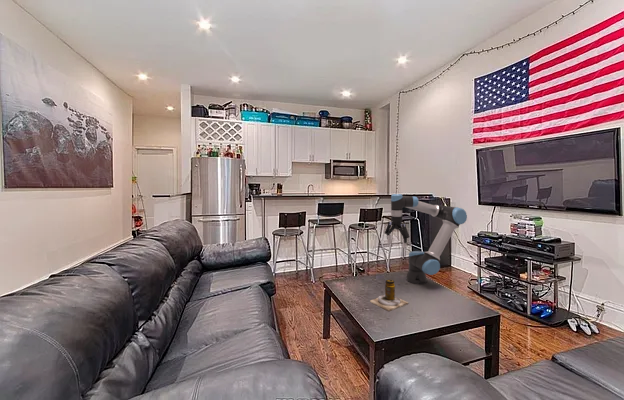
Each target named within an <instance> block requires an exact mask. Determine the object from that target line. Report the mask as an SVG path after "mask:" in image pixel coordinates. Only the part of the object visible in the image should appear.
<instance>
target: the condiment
mask: <svg viewBox="0 0 624 400" xmlns="http://www.w3.org/2000/svg"><path fill="white" fill-rule="evenodd" d="M395 287H396V286H395V281H394V280H393V279H386V280H385V284H384V289H385V290H384V293H385V294H384V295H385V297H382V298H381V299H383V300H385V301H387V302H391V301H394V300H397V298H395V296H396V294H395V293H396V291H395V290H396V288H395Z"/></svg>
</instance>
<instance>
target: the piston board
mask: <svg viewBox="0 0 624 400" xmlns="http://www.w3.org/2000/svg"><path fill="white" fill-rule="evenodd" d="M382 297H385V294H382V295H379V296H378V297H377V298H374V299H371V300H369V303H371V304H373V305H375V306H377V307H379V308H381V309H384V310H385V311H387V312H391V311H394V310H397V309H398V308H401V307H405V306H406V305H409V301H406V300H404V299H401V298H400V297H399V296H396V295H395V298H397V300H394V301H391V302H387V301H385V300H383V299H381V298H382Z"/></svg>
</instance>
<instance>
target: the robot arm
mask: <svg viewBox="0 0 624 400" xmlns="http://www.w3.org/2000/svg"><path fill="white" fill-rule="evenodd" d="M390 197H391V199H390V210H391V211H390V215H391V217H390V221H388V222H387V225H386V228H385V230H384V234H385V235H386V240H387V242H386V243H387V245H391V244H392V235H391V234H392V233H393V231H394V230H397V231H399V233H400V234H401V236H402V248H403V249H405V248H407V243H408V239H409V238H410V236H411V235H410V234H409V231H408V229H407V227H406V226H407V224H406V223H403V208H407V209H410V210H414V211H418V212H419V213H423V214H424V213H425V214H428V215H430V216H432V217H434V218H437V219H439V220H441V221H442V225H441V226H440V228H439V231H438V233H437V234H436V236H435V238H434V240H433V241H432V242H431V245H430V247H429V248H428V251H421V250H415V251H414V250H413V251H412V250H411V251H409V253H408V272H407V274H406V277H405V278H406V281H407V282H408V283H410V284H411V283H412V284H415V285H422V284H423V285H424V284H426V283H427V281H428V278H427V275H429V276H431V275H432V276H433V275H436V274H438V272H439V271H440V269H441V264H440V261H441V258H440V256H441V255H442V254H443V252H444V249H445V248H446V246H447V245H448V243H449V241H450V238H451V237H452V235H453V233H454V231H455V229H458V228H459V227H460V225H463V224H465V223H466V221H467V219H468V215H467V212H466V210H465V209H463V208H462V207H458V206H448V205H439V204H431V203H427V202H424V201H420V200H419V199H418V197H417V196H412V195H411V196H408V195H403V194H401V193H393V194H391V196H390Z"/></svg>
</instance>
